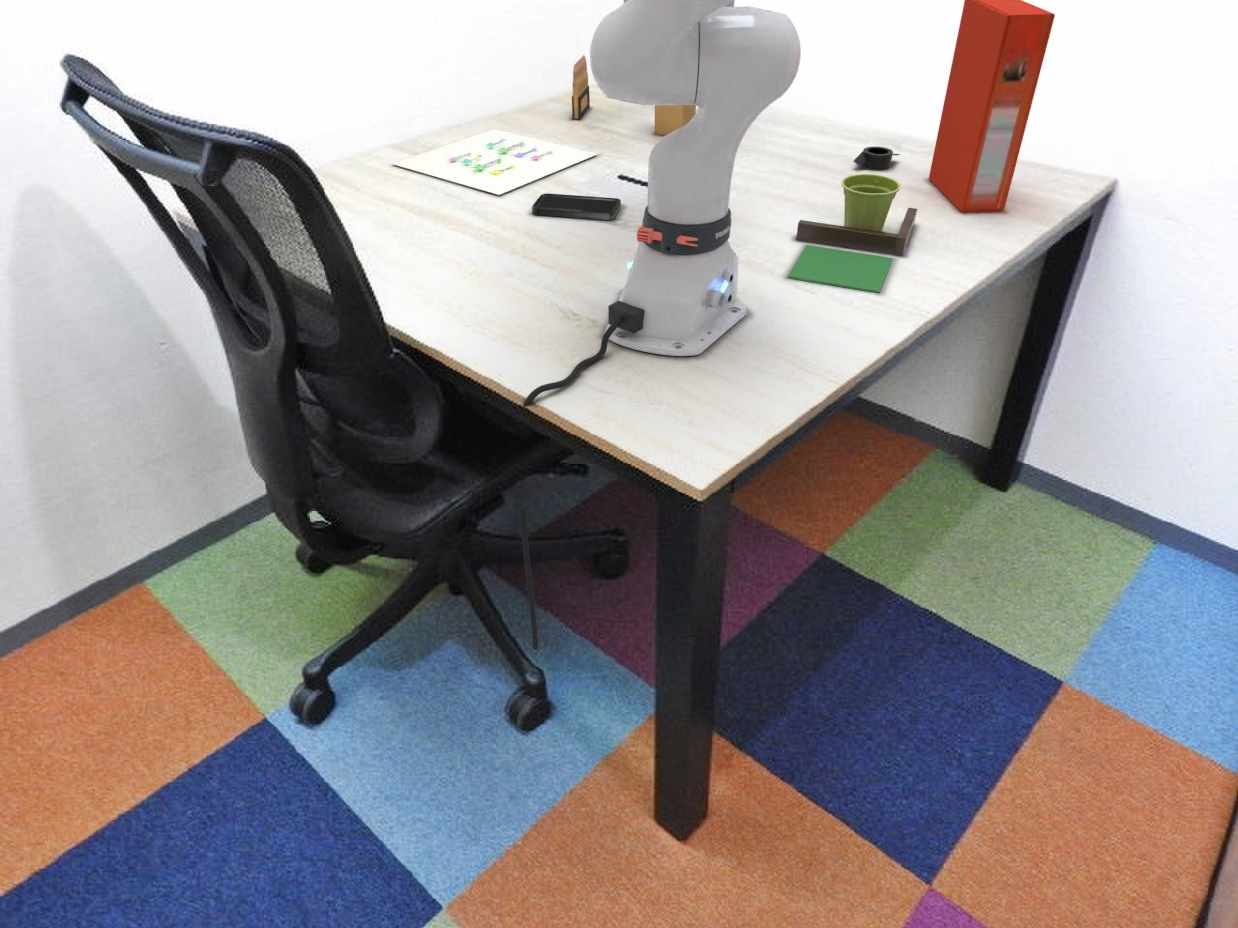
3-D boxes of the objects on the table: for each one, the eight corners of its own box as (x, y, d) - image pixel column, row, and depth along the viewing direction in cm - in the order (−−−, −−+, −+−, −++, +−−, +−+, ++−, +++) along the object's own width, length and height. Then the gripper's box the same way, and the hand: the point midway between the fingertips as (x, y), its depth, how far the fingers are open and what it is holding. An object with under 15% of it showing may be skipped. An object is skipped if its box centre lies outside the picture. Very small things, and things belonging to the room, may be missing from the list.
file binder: (959, 213, 155) (1007, 14, 136) (926, 180, 169) (965, -5, 150) (1003, 212, 155) (1057, 14, 136) (967, 179, 169) (1011, -5, 150)
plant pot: (891, 247, 143) (902, 195, 138) (833, 242, 145) (841, 191, 140) (889, 225, 151) (899, 175, 145) (834, 221, 152) (841, 172, 147)
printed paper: (499, 196, 162) (498, 189, 161) (391, 165, 177) (390, 158, 176) (598, 155, 181) (598, 148, 180) (494, 130, 196) (493, 123, 195)
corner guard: (902, 256, 140) (906, 238, 138) (795, 240, 146) (798, 223, 144) (913, 225, 151) (917, 208, 149) (813, 211, 156) (816, 195, 154)
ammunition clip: (580, 120, 202) (578, 64, 195) (572, 119, 202) (570, 64, 195) (589, 107, 210) (588, 54, 203) (582, 107, 211) (580, 54, 203)
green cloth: (879, 293, 130) (879, 291, 129) (787, 278, 134) (787, 276, 134) (892, 259, 139) (892, 258, 139) (806, 246, 143) (806, 244, 143)
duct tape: (848, 158, 179) (850, 144, 177) (897, 160, 178) (900, 145, 177) (852, 171, 173) (855, 156, 171) (904, 172, 172) (906, 157, 171)
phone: (542, 193, 160) (621, 198, 158) (542, 199, 161) (621, 204, 158) (530, 208, 154) (612, 214, 152) (530, 214, 155) (612, 220, 152)
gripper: (672, -55, 121) (689, 51, 128) (733, -72, 135) (746, 25, 142) (634, -45, 125) (653, 58, 132) (697, -63, 139) (712, 31, 146)
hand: (702, 40), depth 137 cm, fingers closed
